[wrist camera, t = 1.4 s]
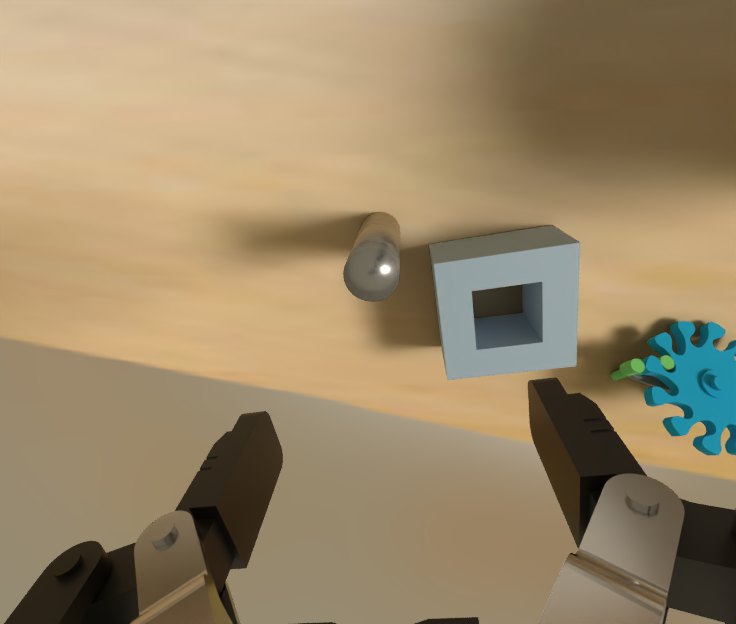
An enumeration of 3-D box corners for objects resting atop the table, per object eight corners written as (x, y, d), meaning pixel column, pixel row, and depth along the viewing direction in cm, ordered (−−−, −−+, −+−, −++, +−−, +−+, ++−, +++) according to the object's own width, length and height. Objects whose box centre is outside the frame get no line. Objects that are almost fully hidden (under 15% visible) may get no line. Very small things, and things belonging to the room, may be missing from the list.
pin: (357, 215, 30) (338, 252, 21) (396, 209, 30) (394, 243, 21) (364, 253, 31) (349, 304, 22) (402, 248, 31) (403, 297, 22)
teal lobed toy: (791, 342, 30) (795, 479, 27) (722, 361, 36) (719, 476, 32) (643, 295, 31) (629, 421, 28) (599, 320, 37) (583, 428, 33)
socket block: (428, 244, 31) (433, 264, 26) (552, 224, 29) (580, 242, 25) (441, 346, 34) (447, 380, 30) (552, 333, 33) (576, 366, 28)
